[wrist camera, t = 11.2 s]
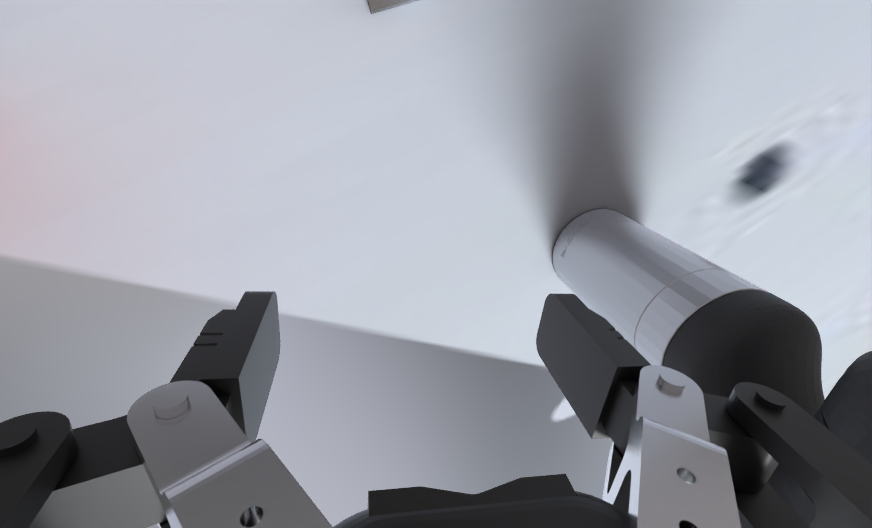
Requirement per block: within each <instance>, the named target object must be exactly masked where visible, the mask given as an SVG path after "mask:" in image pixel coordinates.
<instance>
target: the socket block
mask: <svg viewBox="0 0 872 528" xmlns="http://www.w3.org/2000/svg"><path fill="white" fill-rule="evenodd" d="M367 1H368V4H369V8H370V11H371V14H373V13H376V12H380V11H383V10H386V9H390V8H393V7H397V6H400V5H404V4H407V3H411V2H414V1H418V0H367Z"/></svg>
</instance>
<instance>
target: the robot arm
mask: <svg viewBox="0 0 872 528" xmlns="http://www.w3.org/2000/svg"><path fill="white" fill-rule="evenodd" d="M553 266H554V269H555V272H556V274H557V275H558V277H559V278H560V279H561V280H562V281H563V282H564V283H565V284H566V285H567V286H568V287H569V289H570V290H571V291H572V292H573V293H574V294H575V295H574V294H549V295H548V296H547V298H546V300H545V304H544V308H543V312H542V316H541V320H540V325H539V329H538V333H537V339H536V344H537V350H538V353H539V356H540V357H541V359H542V361H543V362H544V364H545V365H546V367H547V368H548V370H549V372H550V373H551V375H552V376H553V378H554V380H555V381H556V383H557V384H558V386H559V388H560V389H561V391H562V392H563V394H564V395H565V397H566V399H567V400H568V402H569V403H570V405H571V407H572V408H573V410H574V411H575V413H576V415H577V416H578V418H579V419H580V421H581V422H582V424H583V426H584V427H585V429H586V430H587V432H588V434H589V435H590V437H591V438H592V439H595V438H611V439H612V440H613V444H612V446H611V449H610V452H609V458H608V464H607V471H606V478H605V484H604V492H603V498H602V499H599V498H597V497H594V496H592V495H588V494H585V493H581V492H577V491H574V489H573V487H572V485H571V483H570V481H569V479H568V478H567V476H566V474H559V475H547V476H536V477H524V478H519V479H516V480H514V481H511V482H508V483H506V484H503V485H500V486H498V487H495V488H493V489H490V490H488V491H485V492H482V493H479V494H465V493H459V492H452V491H446V490H440V489H433V488H427V487H410V488H399V489H387V490H376V491H369V492H368V509H367V510H364V511H362V512H359V513H357V514H355V515H353V516H351V517H349V518H347V519H345V520H343V521H342V522H340V523H339V524H338V525H336V526H334V527H332V526H331V524H330V523H329V522H328V521H327V519H326V518H325V517H324V515H323V514H322V513H321V512H320V510H319V509H318V508H317V507H316V505H315V504H314V503H313V501H312V500H311V499H310V497H309V496H308V495H307V494H306V492H305V491H304V490H303V488H302V487H301V486H300V485H299V483H298V482H297V481H296V479H295V478H294V477H293V476H292V474H291V473H290V472H289V471H288V469H287V468H286V467H285V465H284V464H283V463H282V462H281V460H280V459H279V458H278V456H277V455H276V454H275V453H274V451H273V450H272V449H271V447H270V446H269V445H268V444H267V443H266V442H265V441H264V440H262V439H258V440H256V437H257V434H258V430H259V427H260V423H261V420H262V416H263V413H264V409H265V406H266V402H267V399H268V395H269V392H270V388H271V385H272V381H273V377H274V374H275V371H276V368H277V364H278V360H279V354H280V332H279V320H278V305H277V296H276V293H275V292H245V293H244V295H243V297H242V299H241V300H240V302H239V304H238V306H237V308H236V310H222V311H221V312H219V313H218V314H217V315H215V316H214V317H212V318H211V319H209V320H208V321H207V323H206V325H205V326H204V328H203V329H202V331H201V333H200V336H198V337H197V339H196V341H195V342H194V346H193V347H192V348H191V349H190V351H189V352H188V354H187V355H186V357H185V358H184V360H183V362H182V363H181V365H180V367H179V368H178V370H177V371H176V373H175V375H174V377H173V378H172V380H171V381H170V383H168V384H165V385H162V386H159V387H157V388H155V389H153V390H151V391H149V392H147V393H146V394H144V395H143V396H141V397H140V398H139V399H138V400H137V401H136V402H135V403H134V404H133V405H132V406H131V408H130V410H129V411H128V414H127V415H125V416H123V417H119V418H116V419H112V420H108V421H104V422H101V423H96V424H93V425H88V426H84V427H80V428H76V429H72V427H71V424H70V421H69V419H68V418H67V417H66V416H65V415H63V414H60V413H57V412H36V413H30V414H25V415H22V416H18V417H15V418H12V419H9V420H6V421H4V422H2V423H0V528H146V527H149V526H152V525H154V524H157V525H158V527H159V528H872V351H870V352H867V353H865V354H863V355H862V356H860V357H858V358H857V359H856V360H855V361H854V362H853V363H852V364H851V365H850V366H849V367H848V368H847V370H846V372H845V373H844V374H843V376H842V377H841V378H840V379H839V380H838V382H837V383H836V385H835V386H834V388H833V389H832V390H831V392H830V393H829V395H828V396H827V398H826V399H824V396H823V390H822V382H821V361H822V345H821V339H820V334H819V332H818V329H817V327H816V325H815V324H814V322H813V321H812V320H811V319H810V318H809V317H808V316H807V315H806V314H805V313H804V312H803V311H801V310H800V309H798V308H797V307H795V306H793V305H792V304H790V303H788V302H786V301H784V300H782V299H780V298H779V297H777V296H775V295H773V294H771V293H769V292H767V291H765V290H763V289H761V288H759V287H757V286H756V285H754V284H752V283H750V282H748V281H746V280H744V279H742V278H741V277H739V276H737V275H735V274H733V273H731V272H729V271H727V270H725V269H723V268H721V267H719V266H718V265H716V264H714V263H712V262H710V261H708V260H706V259H705V258H703V257H701V256H699V255H697V254H695V253H693V252H691V251H690V250H688V249H686V248H684V247H682V246H680V245H678V244H676V243H675V242H673V241H671V240H669V239H667V238H665V237H663V236H662V235H660V234H658V233H656V232H654V231H652V230H650V229H648V228H647V227H645V226H643V225H641V224H639V223H638V222H636V221H634V220H632V219H630V218H628V217H626V216H624V215H623V214H621V213H619V212H616V211H613V210H610V209H597V210H592V211H589V212H586V213H584V214H582V215H580V216H578V217H577V218H575V219H574V220H573V221H572V222H570V223H569V224H568V225H567V226H566V227H565V229H564V230H563V231H562V232H561V234H560V236H559V237H558V239H557V241H556V244H555V247H554V251H553Z"/></svg>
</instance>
